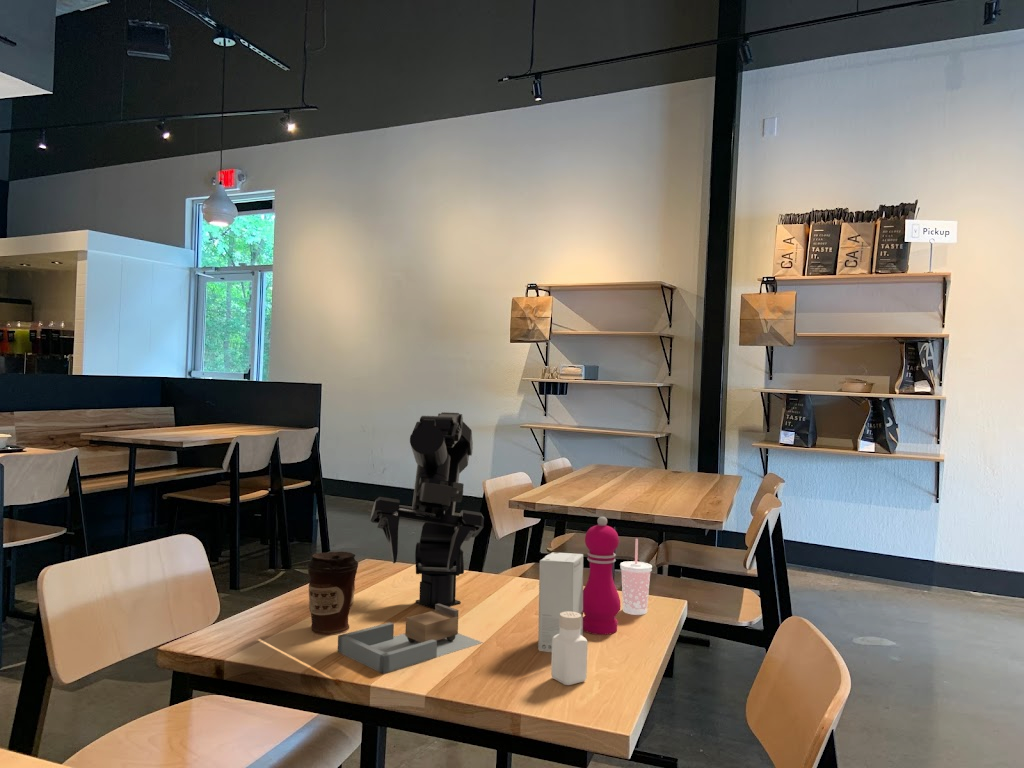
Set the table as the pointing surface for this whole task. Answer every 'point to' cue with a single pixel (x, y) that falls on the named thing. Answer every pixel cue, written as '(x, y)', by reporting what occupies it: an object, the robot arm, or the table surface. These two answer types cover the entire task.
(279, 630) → the table surface
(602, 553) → the pepper mill
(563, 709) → the table surface
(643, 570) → the beverage cup
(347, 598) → the coffee cup
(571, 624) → the salt shaker
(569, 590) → the skincare box
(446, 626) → the block
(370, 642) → the dock
